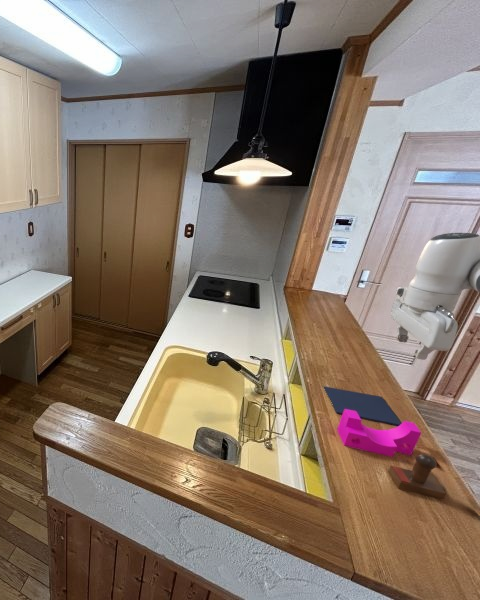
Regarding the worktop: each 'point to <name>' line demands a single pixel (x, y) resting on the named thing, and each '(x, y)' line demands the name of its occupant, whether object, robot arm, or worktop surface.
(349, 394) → the ink pad
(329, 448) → the worktop surface
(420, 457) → the stamp
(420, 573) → the worktop surface
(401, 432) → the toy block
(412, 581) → the worktop surface
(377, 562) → the worktop surface
